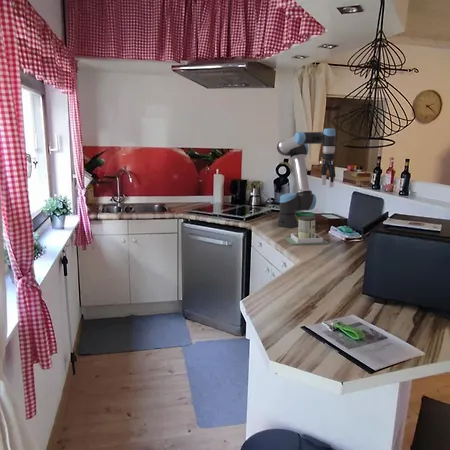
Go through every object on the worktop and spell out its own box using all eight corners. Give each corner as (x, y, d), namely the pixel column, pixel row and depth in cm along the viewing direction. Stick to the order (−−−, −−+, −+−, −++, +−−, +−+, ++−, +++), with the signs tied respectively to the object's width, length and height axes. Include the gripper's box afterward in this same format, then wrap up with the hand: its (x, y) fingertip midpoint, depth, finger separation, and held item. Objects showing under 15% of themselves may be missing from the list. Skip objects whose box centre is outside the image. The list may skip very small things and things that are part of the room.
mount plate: (285, 238, 257) (285, 233, 257) (318, 237, 260) (319, 232, 259) (292, 245, 241) (292, 239, 240) (328, 244, 243) (328, 238, 243)
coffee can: (299, 237, 257) (299, 215, 254) (315, 238, 253) (316, 216, 250) (296, 241, 247) (297, 218, 244) (313, 242, 244) (314, 219, 241)
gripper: (341, 153, 248) (340, 188, 252) (327, 152, 272) (326, 184, 276) (330, 153, 247) (328, 188, 251) (316, 152, 271) (315, 184, 276)
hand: (327, 186), depth 264 cm, fingers open, 13 cm apart
